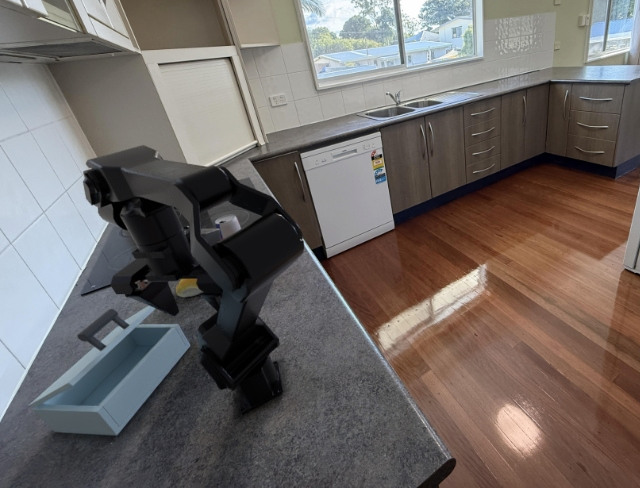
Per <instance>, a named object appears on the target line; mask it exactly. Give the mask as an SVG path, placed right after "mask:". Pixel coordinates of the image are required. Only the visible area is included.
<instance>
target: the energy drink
mask: <svg viewBox="0 0 640 488" xmlns="http://www.w3.org/2000/svg"><path fill="white" fill-rule="evenodd" d="M214 223H215V228H220V235H221V240H222V239H224V238H226V237H228V236H229V235H231V234H233V233H235V232H236V231H238V230H240V229H242V227H241V225H240V222H239V220H238V217H237V216H236V215H235V214H233V213H232V214H226V215H223V216H221V217H218V218H217V219H216V220H215V221H214Z"/></svg>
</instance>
